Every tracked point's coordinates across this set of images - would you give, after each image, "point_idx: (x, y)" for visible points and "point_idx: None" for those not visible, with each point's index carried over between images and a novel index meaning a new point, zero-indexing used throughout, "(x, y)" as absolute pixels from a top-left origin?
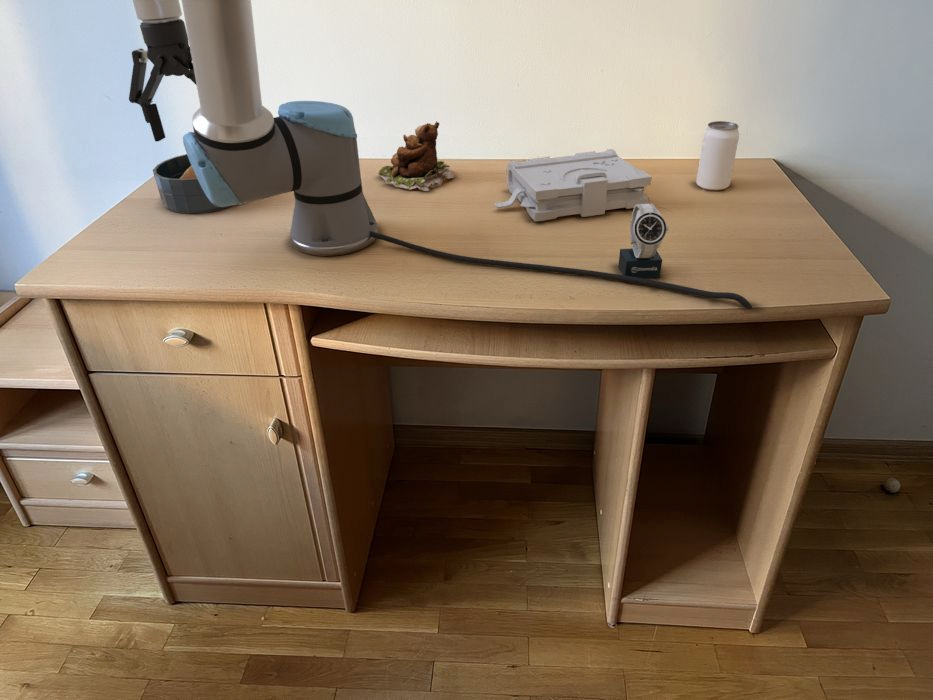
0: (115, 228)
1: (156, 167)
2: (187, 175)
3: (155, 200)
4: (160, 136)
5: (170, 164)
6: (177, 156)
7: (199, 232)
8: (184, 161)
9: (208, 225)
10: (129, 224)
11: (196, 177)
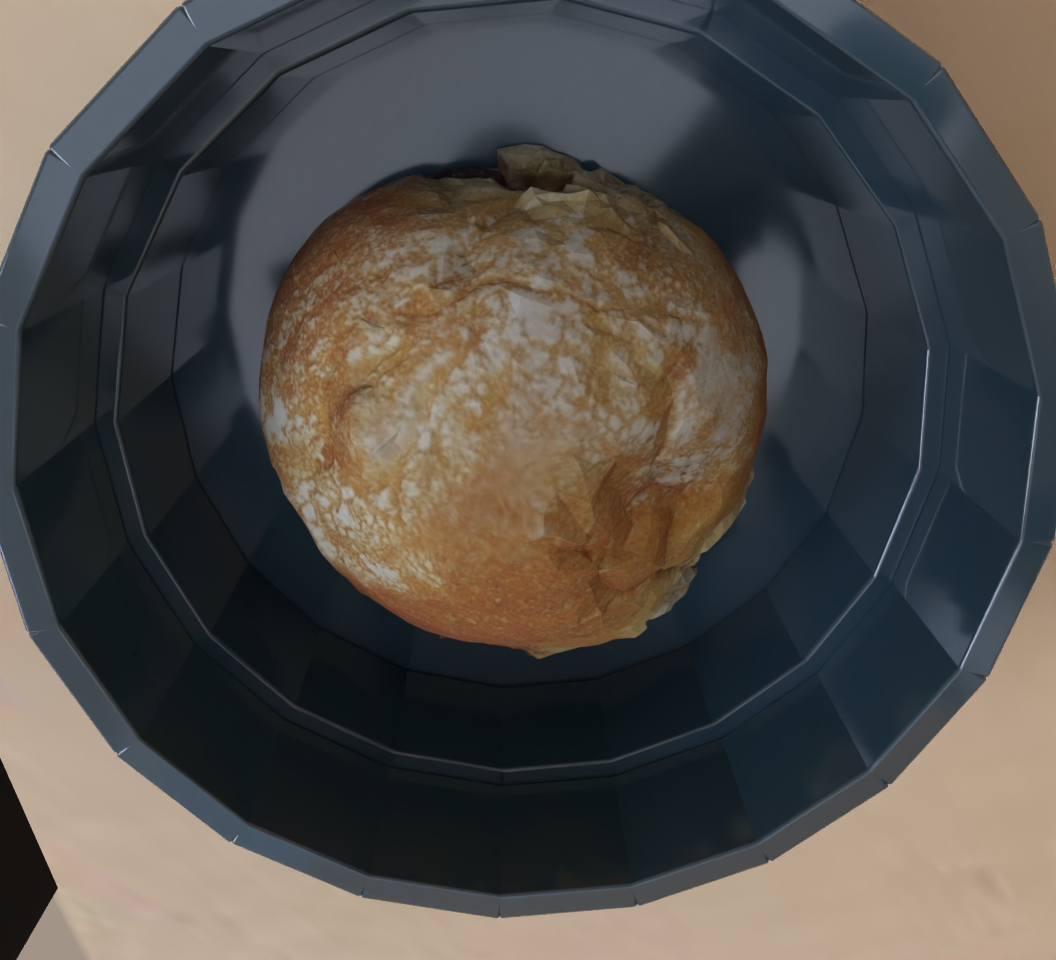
0: (246, 954)
1: (94, 696)
2: (469, 619)
3: None
4: (1, 863)
5: (43, 429)
6: (4, 301)
7: (827, 887)
8: (88, 241)
9: None
10: (285, 896)
11: (585, 621)
